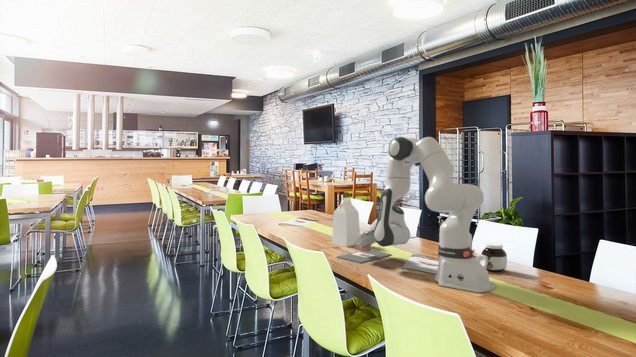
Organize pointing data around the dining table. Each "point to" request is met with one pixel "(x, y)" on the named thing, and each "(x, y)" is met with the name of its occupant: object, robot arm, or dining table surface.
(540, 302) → the dining table surface
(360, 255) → the charcoal mat
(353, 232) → the milk
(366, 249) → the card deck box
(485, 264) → the spread jar
